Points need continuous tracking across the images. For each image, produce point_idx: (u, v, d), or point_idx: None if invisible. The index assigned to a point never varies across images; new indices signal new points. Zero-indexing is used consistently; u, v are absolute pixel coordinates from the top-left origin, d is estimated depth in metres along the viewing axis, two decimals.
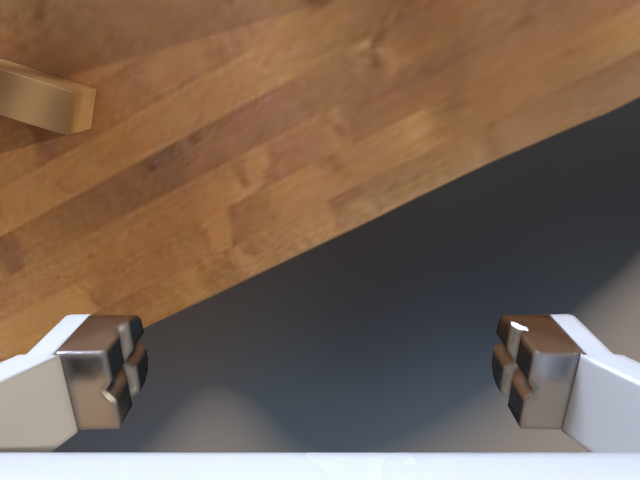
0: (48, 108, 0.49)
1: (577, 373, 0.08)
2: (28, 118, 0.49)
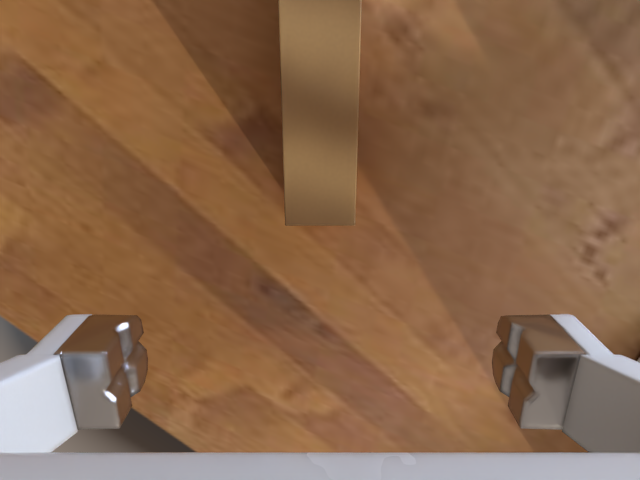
0: (318, 195, 0.31)
1: (577, 373, 0.08)
2: (292, 167, 0.30)
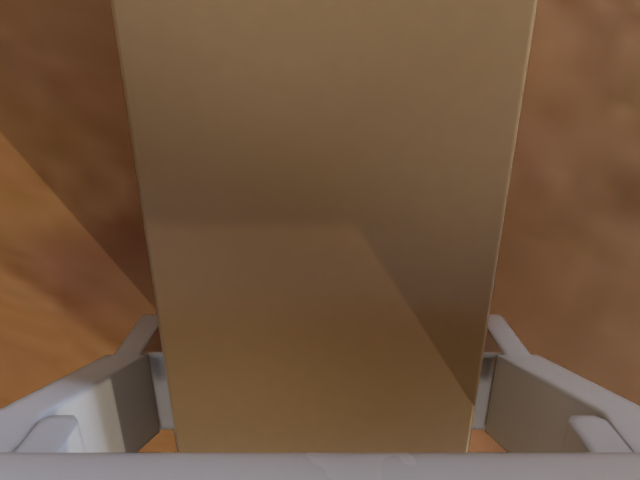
0: None
1: (495, 373, 0.08)
2: None
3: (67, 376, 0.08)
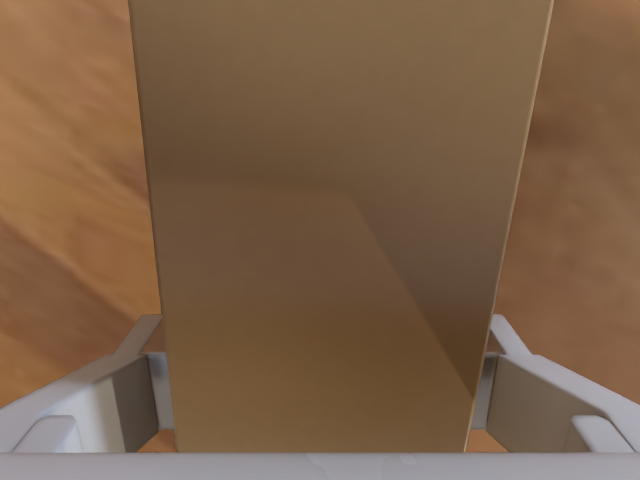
0: None
1: (496, 373, 0.08)
2: None
3: (66, 376, 0.08)
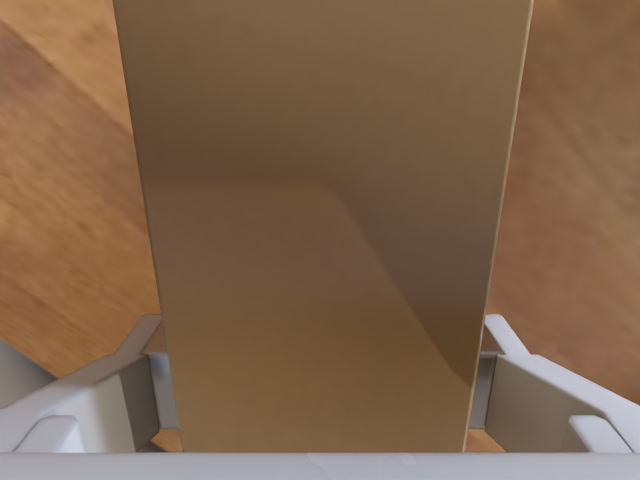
0: None
1: (495, 373, 0.08)
2: (216, 444, 0.08)
3: (67, 376, 0.08)
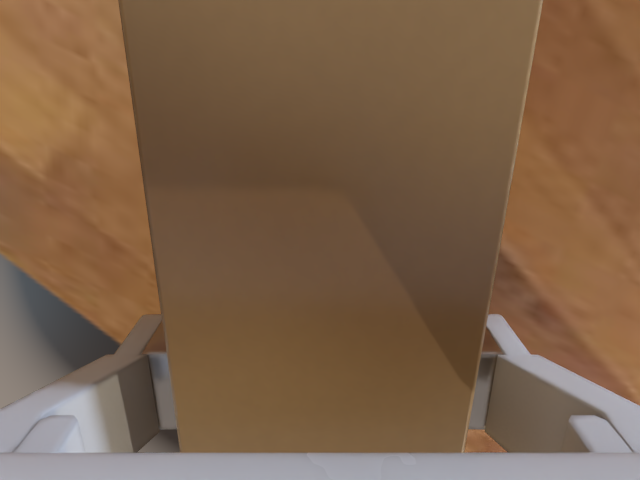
0: None
1: (495, 373, 0.08)
2: (214, 444, 0.08)
3: (67, 376, 0.08)
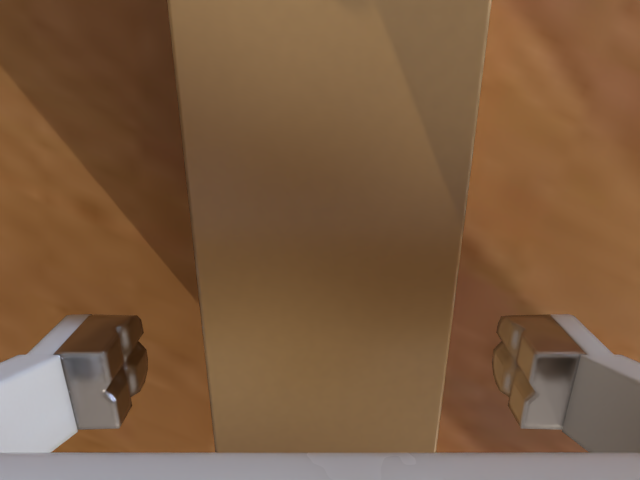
0: None
1: (577, 373, 0.08)
2: (238, 391, 0.09)
3: None
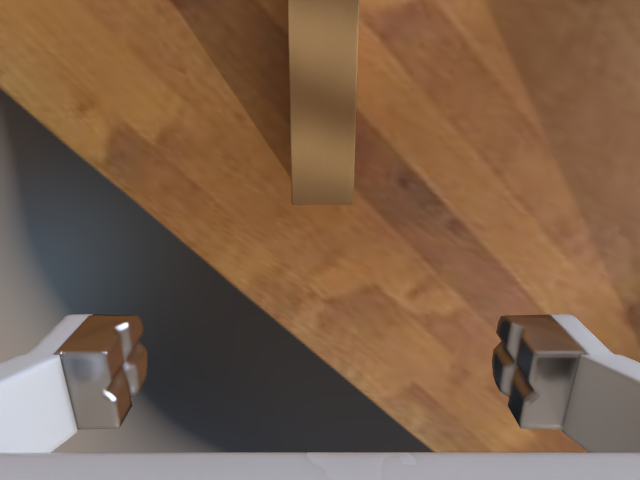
0: (321, 177, 0.35)
1: (577, 373, 0.08)
2: (298, 153, 0.35)
3: None
